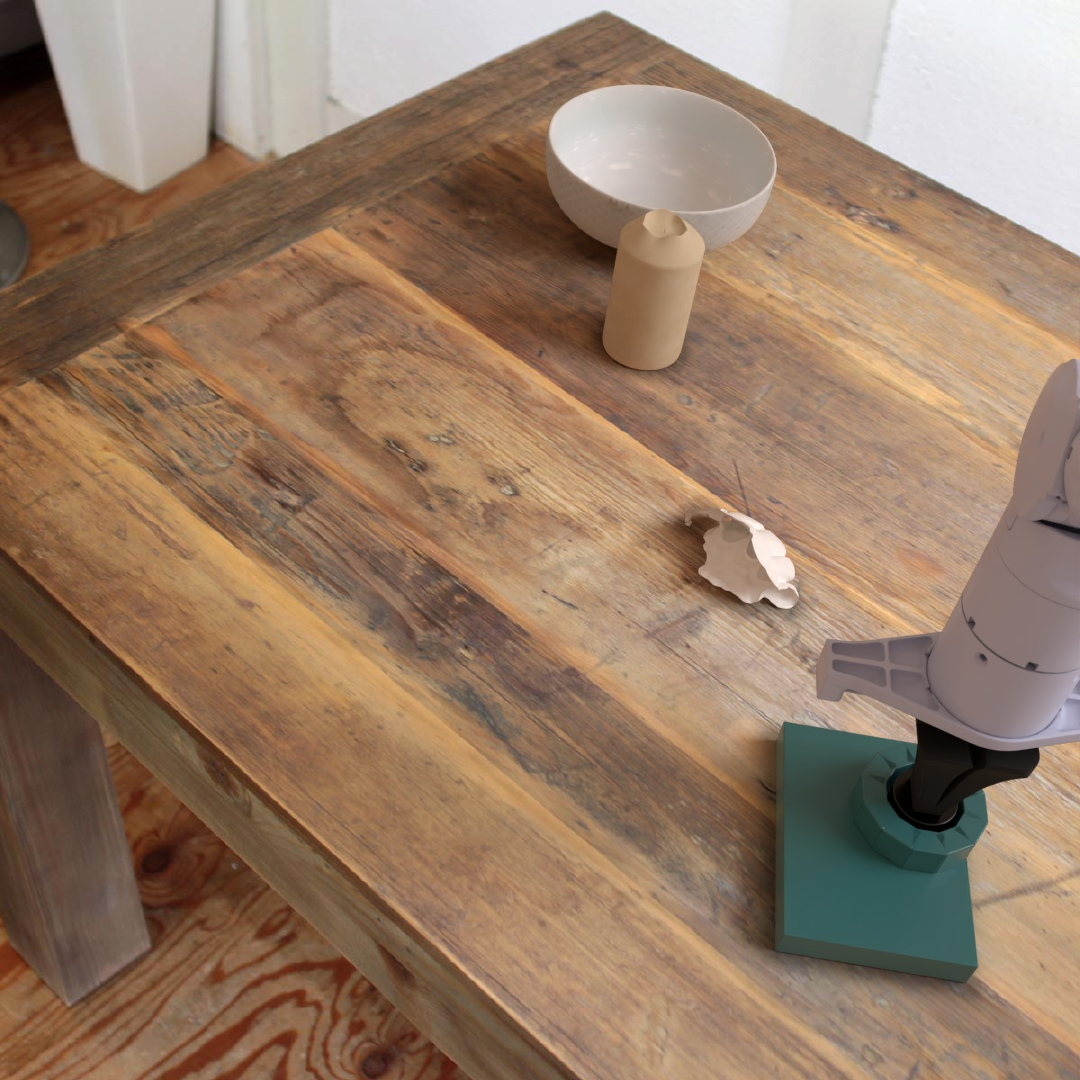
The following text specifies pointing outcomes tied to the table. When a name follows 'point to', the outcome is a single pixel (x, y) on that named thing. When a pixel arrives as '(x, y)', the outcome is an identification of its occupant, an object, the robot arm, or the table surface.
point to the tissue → (746, 559)
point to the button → (902, 806)
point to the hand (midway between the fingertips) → (925, 796)
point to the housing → (868, 860)
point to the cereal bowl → (657, 162)
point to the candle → (652, 290)
